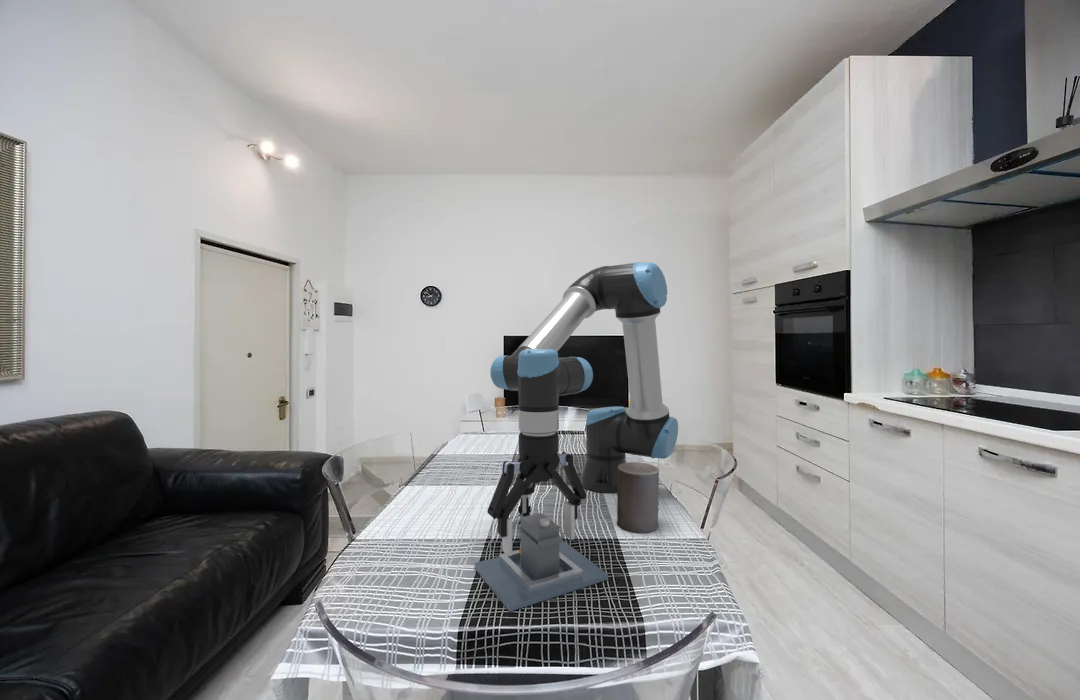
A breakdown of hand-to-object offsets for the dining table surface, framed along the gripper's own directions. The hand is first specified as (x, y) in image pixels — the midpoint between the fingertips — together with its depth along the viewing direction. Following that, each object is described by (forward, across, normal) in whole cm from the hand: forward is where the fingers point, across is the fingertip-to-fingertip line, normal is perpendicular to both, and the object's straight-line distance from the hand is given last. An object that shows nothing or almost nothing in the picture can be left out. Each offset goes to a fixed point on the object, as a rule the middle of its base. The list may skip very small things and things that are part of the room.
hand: (539, 544), depth 86 cm
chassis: (+6, 0, 0) cm, 6 cm away
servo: (+5, 0, 0) cm, 5 cm away
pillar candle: (+6, -31, -8) cm, 33 cm away
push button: (+6, -8, -22) cm, 24 cm away
